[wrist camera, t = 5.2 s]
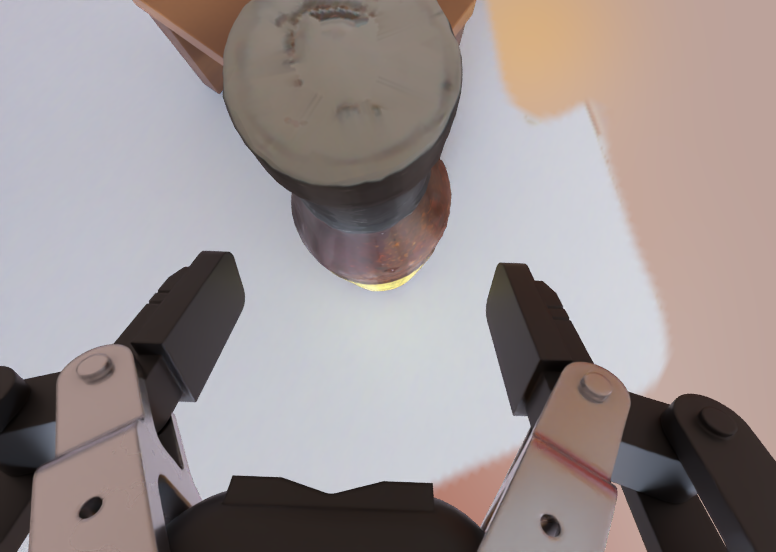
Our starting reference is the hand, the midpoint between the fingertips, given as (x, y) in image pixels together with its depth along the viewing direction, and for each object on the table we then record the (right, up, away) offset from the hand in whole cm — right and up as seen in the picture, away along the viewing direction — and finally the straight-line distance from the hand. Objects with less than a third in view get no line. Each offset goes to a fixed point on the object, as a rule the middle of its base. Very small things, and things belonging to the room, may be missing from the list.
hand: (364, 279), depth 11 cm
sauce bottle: (0, +2, +15) cm, 15 cm away
